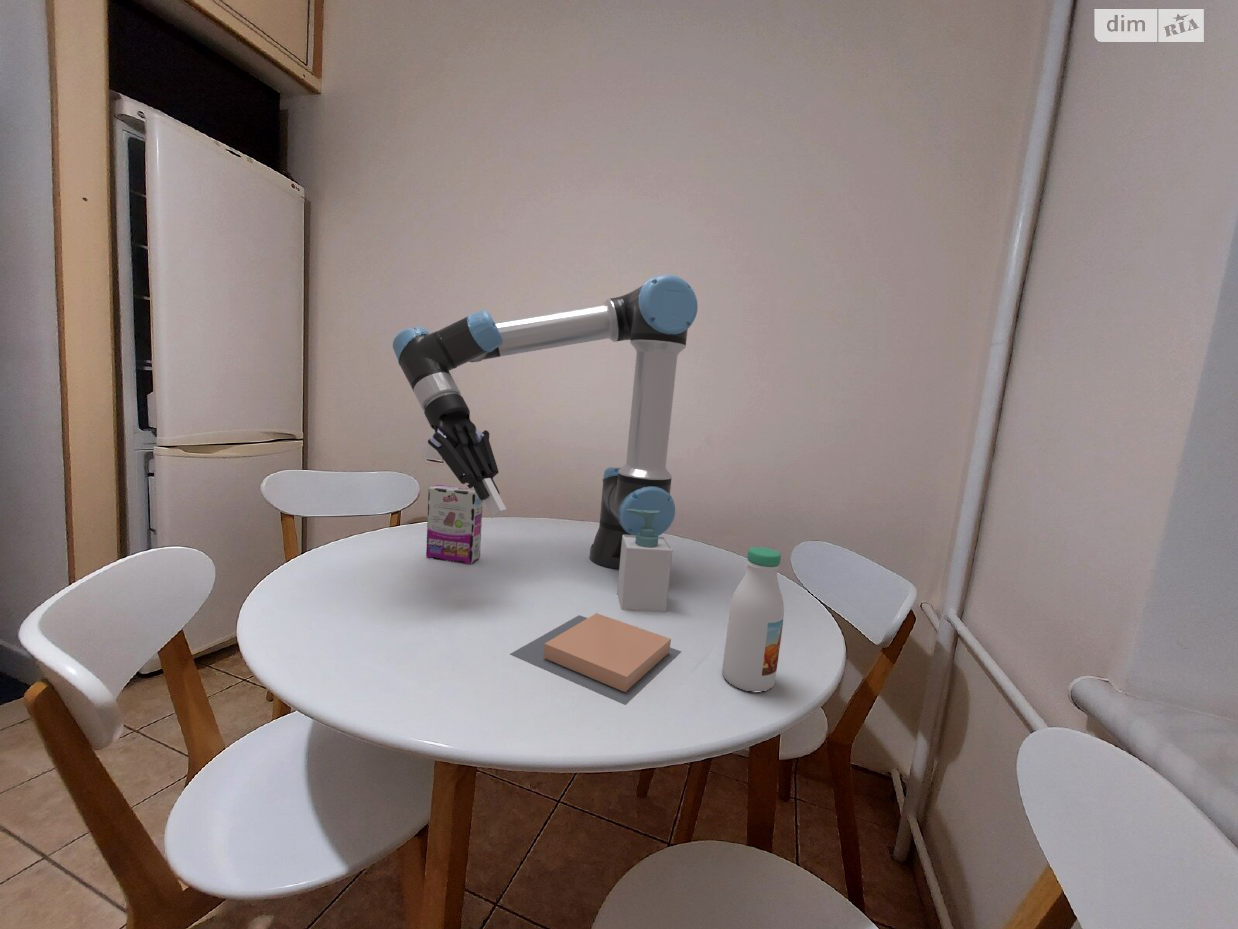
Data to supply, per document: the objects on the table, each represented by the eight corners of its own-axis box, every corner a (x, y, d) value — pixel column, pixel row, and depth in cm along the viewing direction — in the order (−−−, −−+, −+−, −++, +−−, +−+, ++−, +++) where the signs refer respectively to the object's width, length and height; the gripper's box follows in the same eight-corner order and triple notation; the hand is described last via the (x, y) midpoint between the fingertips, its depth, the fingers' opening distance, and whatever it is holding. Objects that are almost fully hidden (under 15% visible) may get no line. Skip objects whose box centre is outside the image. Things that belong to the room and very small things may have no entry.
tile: (544, 643, 76) (626, 677, 69) (596, 613, 88) (671, 639, 81) (543, 659, 76) (625, 694, 69) (595, 627, 88) (669, 653, 81)
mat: (509, 659, 77) (509, 654, 77) (578, 619, 92) (579, 615, 92) (624, 710, 67) (625, 704, 67) (681, 656, 82) (681, 651, 82)
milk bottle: (742, 698, 72) (760, 560, 69) (711, 669, 79) (726, 543, 76) (785, 689, 75) (804, 558, 72) (752, 663, 82) (768, 542, 79)
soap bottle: (615, 595, 105) (624, 503, 102) (658, 597, 106) (667, 506, 103) (619, 613, 96) (629, 514, 94) (665, 615, 97) (676, 517, 95)
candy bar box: (480, 558, 119) (484, 489, 117) (471, 565, 114) (475, 492, 112) (436, 552, 121) (439, 483, 119) (424, 558, 116) (427, 487, 114)
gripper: (458, 414, 103) (511, 517, 98) (402, 415, 92) (458, 530, 87) (480, 392, 99) (536, 497, 94) (423, 390, 88) (483, 509, 83)
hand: (498, 513), depth 91 cm, fingers closed
